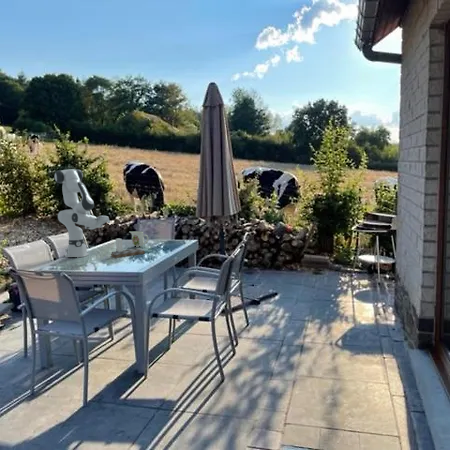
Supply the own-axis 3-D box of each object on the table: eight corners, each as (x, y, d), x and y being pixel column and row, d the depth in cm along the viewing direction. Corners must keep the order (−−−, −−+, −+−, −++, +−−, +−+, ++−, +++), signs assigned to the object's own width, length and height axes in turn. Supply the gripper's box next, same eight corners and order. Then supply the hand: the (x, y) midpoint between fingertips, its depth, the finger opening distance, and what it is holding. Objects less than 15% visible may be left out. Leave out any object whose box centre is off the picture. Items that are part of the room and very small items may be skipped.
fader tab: (118, 254, 376) (117, 239, 374) (116, 253, 381) (115, 238, 379) (123, 253, 378) (122, 239, 377) (120, 252, 383) (119, 238, 382)
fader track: (115, 257, 372) (115, 253, 372) (111, 256, 381) (110, 251, 380) (144, 253, 386) (144, 249, 386) (139, 252, 394) (139, 247, 394)
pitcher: (146, 247, 417) (145, 232, 415) (127, 247, 420) (126, 232, 419) (150, 245, 427) (150, 230, 426) (132, 245, 431) (131, 230, 429)
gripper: (99, 212, 359) (113, 215, 369) (83, 222, 369) (97, 225, 380) (100, 220, 356) (114, 223, 367) (83, 229, 367) (98, 232, 378)
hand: (105, 224), depth 374 cm, fingers open, 8 cm apart
